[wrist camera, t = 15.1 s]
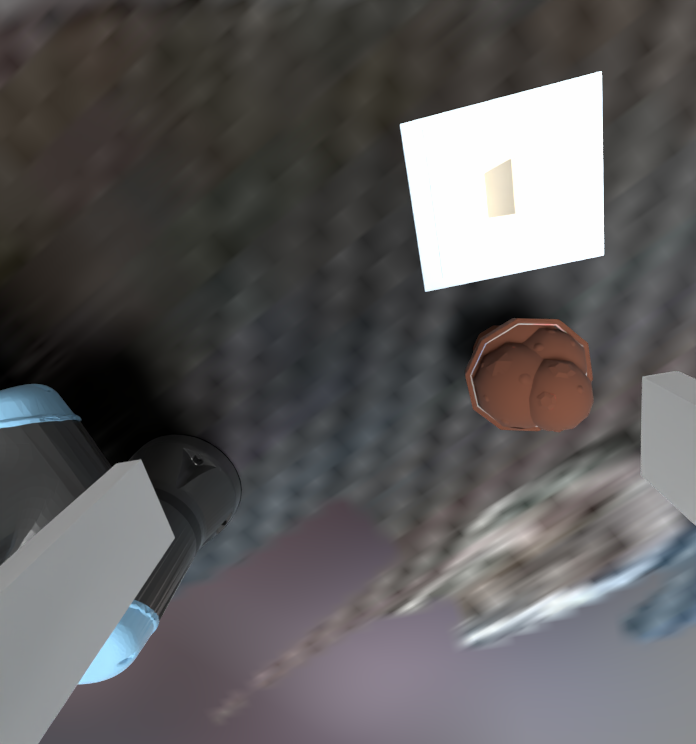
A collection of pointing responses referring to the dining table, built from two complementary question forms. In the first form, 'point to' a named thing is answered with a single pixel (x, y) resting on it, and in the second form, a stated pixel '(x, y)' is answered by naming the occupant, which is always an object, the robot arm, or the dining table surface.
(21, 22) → the dining table surface
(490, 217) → the lid
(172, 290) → the dining table surface
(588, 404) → the ice cream bowl
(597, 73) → the mat
